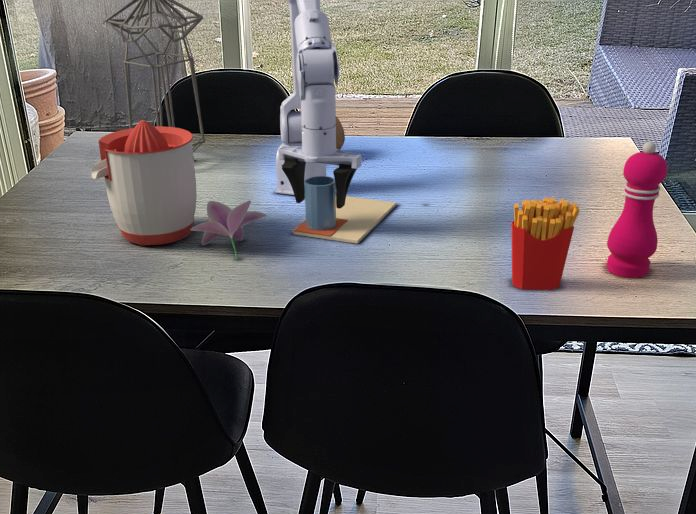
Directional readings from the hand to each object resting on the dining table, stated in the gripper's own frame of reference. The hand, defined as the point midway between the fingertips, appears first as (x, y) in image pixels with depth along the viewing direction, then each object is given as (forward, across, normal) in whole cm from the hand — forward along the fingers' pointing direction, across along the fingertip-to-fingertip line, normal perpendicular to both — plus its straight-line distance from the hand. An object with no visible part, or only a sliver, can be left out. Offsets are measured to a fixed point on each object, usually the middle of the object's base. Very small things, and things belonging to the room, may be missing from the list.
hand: (320, 203), depth 144 cm
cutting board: (+5, +2, +6) cm, 8 cm away
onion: (+5, -16, +39) cm, 43 cm away
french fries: (+5, +40, -9) cm, 41 cm away
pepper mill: (+5, +52, +1) cm, 52 cm away
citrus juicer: (+5, -26, -13) cm, 30 cm away
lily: (+5, -10, -14) cm, 18 cm away
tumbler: (+4, 0, 0) cm, 4 cm away
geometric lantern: (+5, -46, +24) cm, 53 cm away
